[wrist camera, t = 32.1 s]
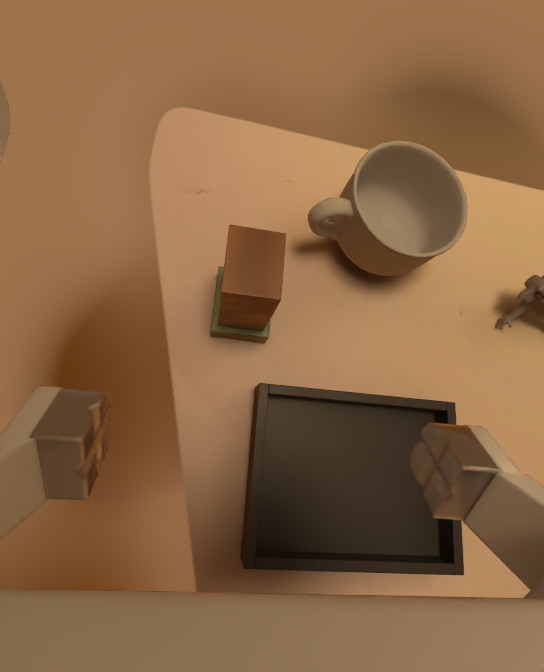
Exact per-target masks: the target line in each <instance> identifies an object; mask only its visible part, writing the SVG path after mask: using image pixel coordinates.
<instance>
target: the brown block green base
mask: <svg viewBox="0 0 544 672" xmlns="http://www.w3.org/2000/svg"><path fill="white" fill-rule="evenodd" d="M285 243H286V234H285V233H279V232H272V231H266V230H260V229H254V228H248V227H242V226H236V225H229V233H228V241H227V249H226V257H225V265H224V267H219V269H218V277H217V285H216V293H215V301H214V309H213V316H212V324H211V336H213V337H221V338H230V339H238V340H246V341H255V342H263V343H265V342H266V340H267V339H268V337H269V327H270V318H271V317H272V315H273V313H274V311H275V309H276V308H277V306H278V304H279V302H280V301H281V294H282V282H283V269H284V256H285Z"/></svg>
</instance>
